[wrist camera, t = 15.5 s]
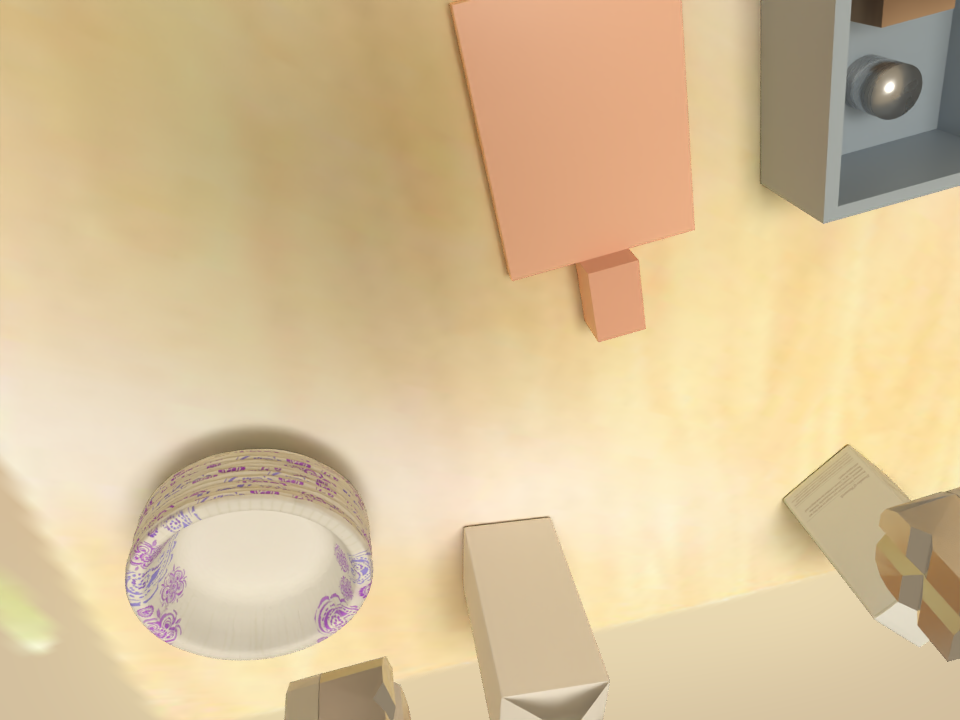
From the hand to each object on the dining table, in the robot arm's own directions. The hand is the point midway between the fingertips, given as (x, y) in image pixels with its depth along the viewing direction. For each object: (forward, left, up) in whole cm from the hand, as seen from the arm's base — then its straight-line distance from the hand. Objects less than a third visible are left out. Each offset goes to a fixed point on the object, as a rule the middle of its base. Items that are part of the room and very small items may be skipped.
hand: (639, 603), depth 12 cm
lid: (+6, +9, -34) cm, 36 cm away
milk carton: (+36, -2, -34) cm, 50 cm away
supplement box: (+40, +27, -34) cm, 59 cm away
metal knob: (+5, +26, -33) cm, 42 cm away
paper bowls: (+24, -18, -34) cm, 46 cm away
